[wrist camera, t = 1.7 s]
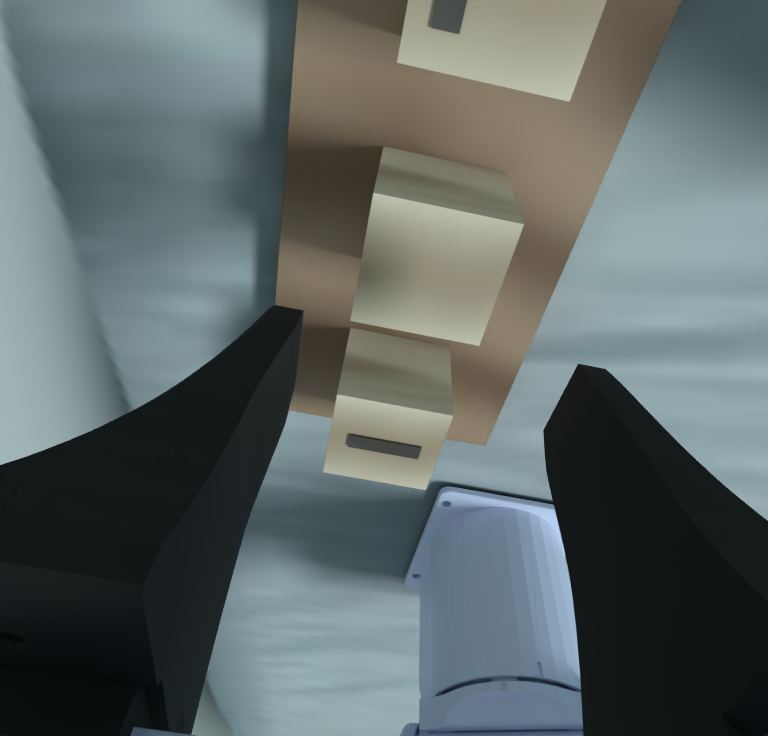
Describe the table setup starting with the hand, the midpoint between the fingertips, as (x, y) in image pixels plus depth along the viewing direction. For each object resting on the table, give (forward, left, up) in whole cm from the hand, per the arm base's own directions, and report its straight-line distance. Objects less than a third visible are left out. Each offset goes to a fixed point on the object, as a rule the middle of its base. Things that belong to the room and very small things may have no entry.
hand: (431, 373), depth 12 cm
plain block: (0, 0, -8) cm, 8 cm away
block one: (-7, 0, -8) cm, 11 cm away
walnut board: (0, 0, -9) cm, 9 cm away
